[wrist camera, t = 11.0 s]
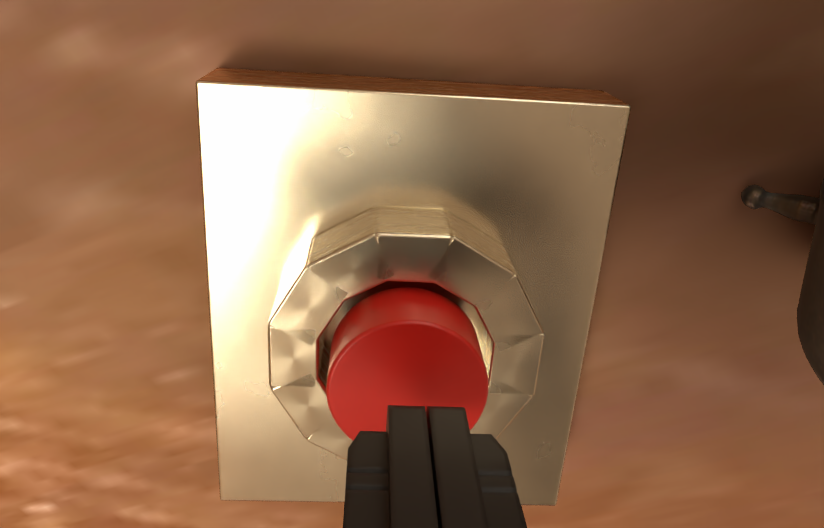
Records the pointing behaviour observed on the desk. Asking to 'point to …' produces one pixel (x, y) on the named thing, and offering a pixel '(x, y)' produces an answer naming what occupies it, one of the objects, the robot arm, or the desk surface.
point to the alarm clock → (820, 295)
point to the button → (403, 359)
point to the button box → (397, 253)
